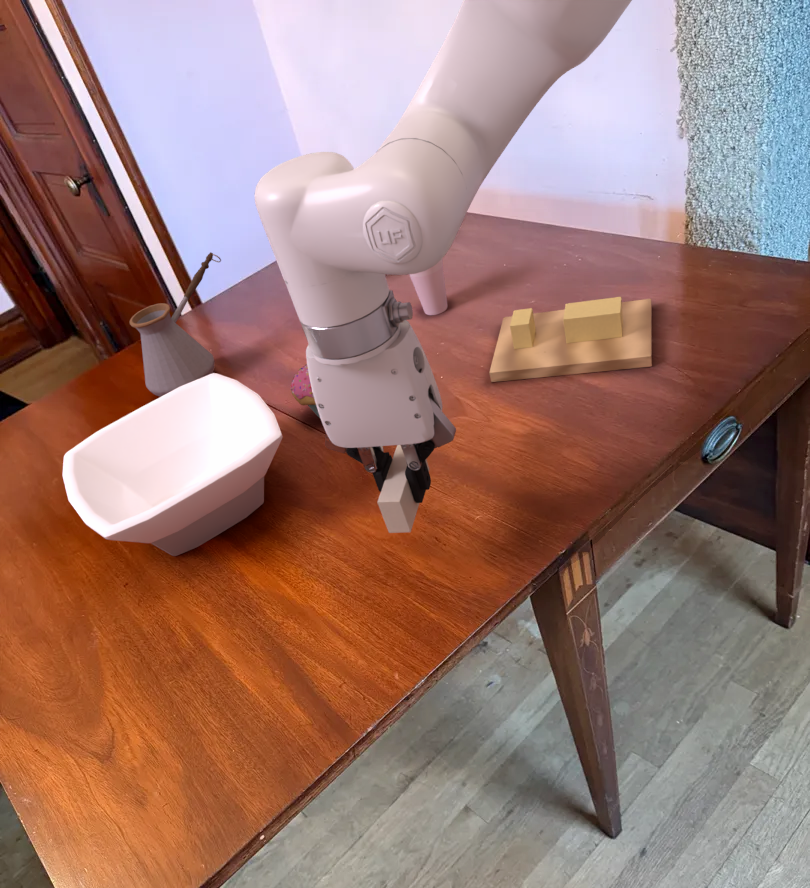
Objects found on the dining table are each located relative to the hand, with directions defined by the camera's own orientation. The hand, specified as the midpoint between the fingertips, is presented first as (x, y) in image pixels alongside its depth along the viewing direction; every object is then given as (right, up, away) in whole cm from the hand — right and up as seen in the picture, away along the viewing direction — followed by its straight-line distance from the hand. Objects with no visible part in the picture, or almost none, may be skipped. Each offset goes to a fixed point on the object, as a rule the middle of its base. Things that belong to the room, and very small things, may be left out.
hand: (407, 492), depth 72 cm
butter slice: (+16, +22, +28) cm, 39 cm away
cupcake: (-10, +13, +31) cm, 35 cm away
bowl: (-26, -1, +23) cm, 34 cm away
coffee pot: (-32, +23, +50) cm, 64 cm away
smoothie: (+5, +31, +44) cm, 55 cm away
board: (+22, +21, +27) cm, 41 cm away
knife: (+1, +3, +4) cm, 5 cm away
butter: (+24, +22, +25) cm, 42 cm away
